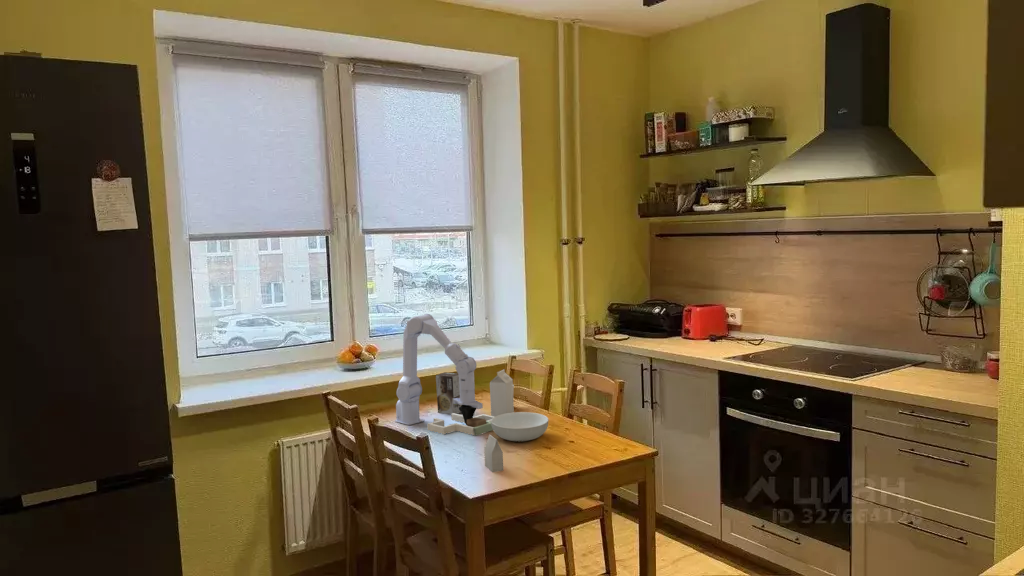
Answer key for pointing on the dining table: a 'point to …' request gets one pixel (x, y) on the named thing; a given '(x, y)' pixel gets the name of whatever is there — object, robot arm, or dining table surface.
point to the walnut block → (475, 422)
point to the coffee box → (447, 392)
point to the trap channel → (440, 428)
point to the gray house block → (493, 455)
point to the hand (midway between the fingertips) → (468, 424)
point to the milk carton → (501, 394)
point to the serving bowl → (520, 426)
